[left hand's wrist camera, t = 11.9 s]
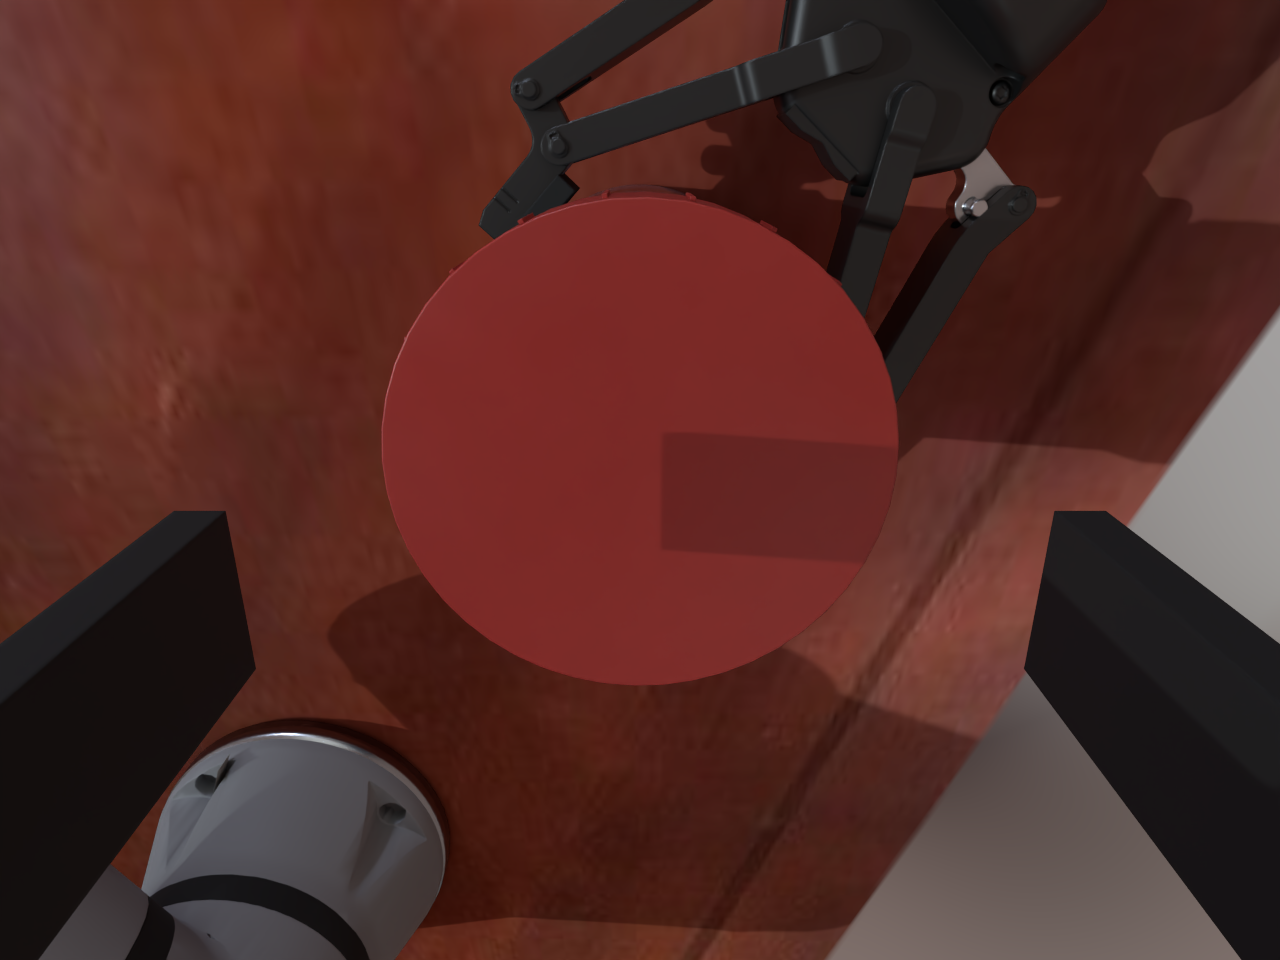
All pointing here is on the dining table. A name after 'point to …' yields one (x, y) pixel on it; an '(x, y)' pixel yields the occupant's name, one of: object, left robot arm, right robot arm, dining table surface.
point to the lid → (640, 439)
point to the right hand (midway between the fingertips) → (564, 416)
